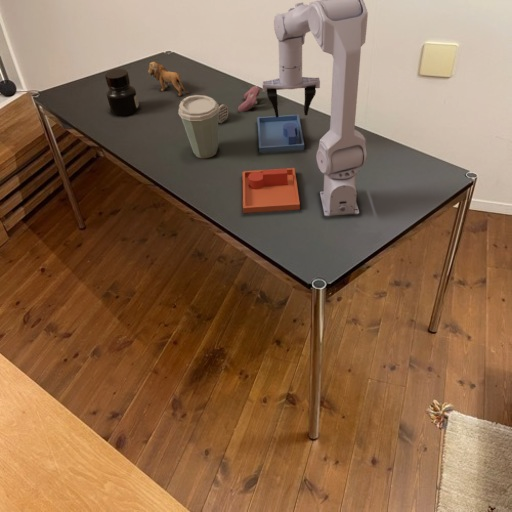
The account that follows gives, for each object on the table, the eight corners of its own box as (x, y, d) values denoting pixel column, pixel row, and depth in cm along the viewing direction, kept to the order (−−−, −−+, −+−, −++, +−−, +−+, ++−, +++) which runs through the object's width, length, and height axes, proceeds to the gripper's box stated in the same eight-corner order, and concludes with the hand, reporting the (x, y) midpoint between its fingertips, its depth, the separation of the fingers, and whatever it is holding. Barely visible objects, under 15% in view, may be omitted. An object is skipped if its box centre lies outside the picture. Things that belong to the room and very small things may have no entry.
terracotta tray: (299, 211, 119) (299, 204, 117) (243, 214, 119) (243, 207, 118) (294, 174, 130) (294, 167, 128) (243, 178, 130) (242, 171, 129)
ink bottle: (145, 109, 162) (137, 72, 153) (123, 120, 157) (113, 82, 149) (127, 100, 167) (118, 64, 159) (105, 111, 162) (95, 74, 154)
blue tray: (304, 151, 138) (304, 144, 136) (259, 154, 138) (259, 147, 137) (298, 120, 150) (298, 114, 149) (257, 123, 151) (257, 117, 149)
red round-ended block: (286, 178, 128) (286, 166, 126) (287, 187, 125) (287, 175, 123) (248, 180, 128) (247, 168, 126) (249, 189, 125) (248, 178, 123)
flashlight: (178, 115, 157) (175, 99, 154) (189, 108, 161) (187, 91, 157) (218, 126, 151) (216, 109, 147) (229, 118, 154) (227, 101, 150)
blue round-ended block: (299, 147, 138) (299, 136, 136) (285, 148, 138) (284, 137, 136) (296, 130, 145) (296, 118, 143) (282, 131, 145) (282, 119, 143)
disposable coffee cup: (230, 145, 142) (224, 95, 132) (215, 166, 135) (208, 114, 125) (196, 140, 145) (188, 91, 135) (179, 160, 138) (169, 109, 128)
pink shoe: (249, 118, 156) (258, 99, 152) (236, 111, 156) (245, 92, 151) (256, 103, 163) (265, 85, 159) (243, 97, 163) (251, 78, 158)
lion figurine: (149, 90, 172) (143, 64, 166) (158, 84, 175) (153, 58, 169) (185, 97, 166) (180, 70, 160) (194, 90, 169) (190, 64, 163)
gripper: (318, 55, 128) (316, 105, 137) (260, 59, 129) (263, 109, 138) (321, 66, 123) (320, 118, 132) (261, 71, 123) (264, 122, 133)
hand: (291, 114), depth 135 cm, fingers open, 7 cm apart
